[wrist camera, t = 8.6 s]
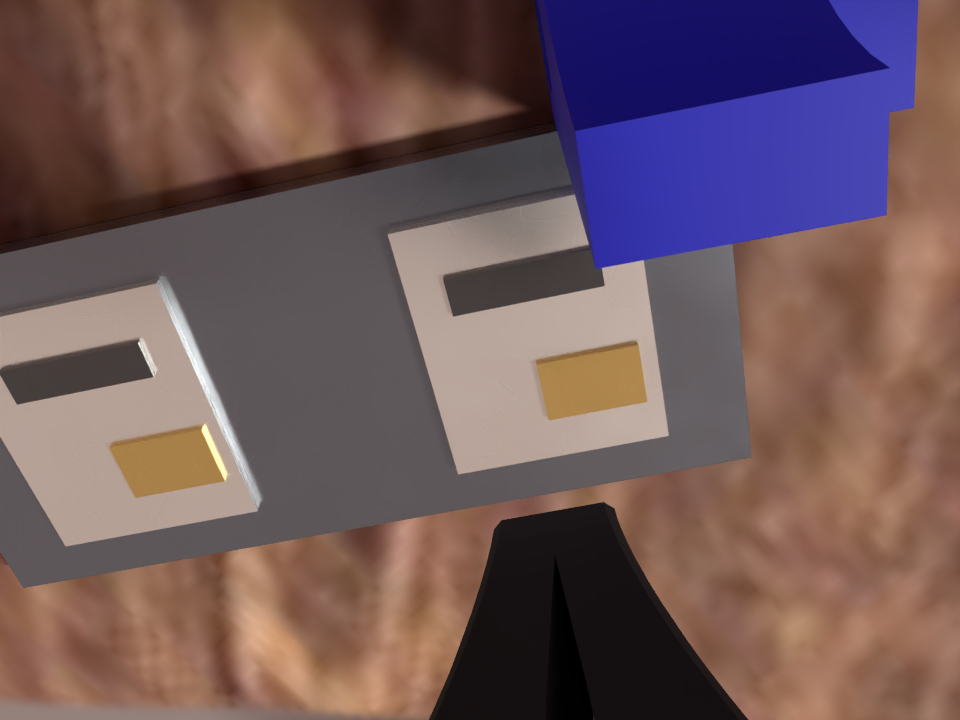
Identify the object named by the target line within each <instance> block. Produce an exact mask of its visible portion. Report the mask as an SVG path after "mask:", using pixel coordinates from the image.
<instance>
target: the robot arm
mask: <svg viewBox="0 0 960 720" xmlns="http://www.w3.org/2000/svg"><path fill="white" fill-rule="evenodd" d="M593 716H594V719H593ZM429 720H748V719H747V718H746V716H745V715H744V714H743V713H742V712H741V710H740V709H739V708H738V707H737V705H736V704H735V703H734V702H733V701H732V699H731V698H730V697H729V696H728V694H727V693H726V692H725V690H724V689H723V688H722V686H721V685H720V684H719V683H718V681H717V680H716V679H715V677H714V676H713V675H712V674H711V672H710V671H709V670H708V668H707V667H706V666H705V664H704V663H703V662H702V660H701V659H700V658H699V656H698V655H697V654H696V652H695V651H694V649H693V648H692V647H691V645H690V644H689V643H688V641H687V640H686V638H685V637H684V635H683V634H682V632H681V631H680V629H679V628H678V626H677V625H676V623H675V622H674V620H673V619H672V617H671V616H670V614H669V613H668V611H667V610H666V608H665V607H664V606H663V604H662V603H661V601H660V599H659V598H658V596H657V595H656V593H655V591H654V590H653V588H652V587H651V585H650V583H649V582H648V580H647V578H646V576H645V575H644V573H643V571H642V569H641V567H640V566H639V564H638V562H637V560H636V559H635V557H634V555H633V553H632V551H631V549H630V547H629V545H628V543H627V541H626V539H625V536H624V534H623V532H622V529H621V527H620V524H619V522H618V519H617V516H616V512H615V509H614V508H613V507H611V506H609V505H607V504H606V503H604V502H603V503H597V504H591V505H586V506H580V507H574V508H569V509H563V510H557V511H552V512H546V513H540V514H535V515H529V516H524V517H518V518H512V519H507V520H501V522H500V523H499V524H498V525H497V527H496V528H495V529H494V533H493V538H492V543H491V548H490V552H489V556H488V560H487V564H486V568H485V571H484V575H483V578H482V582H481V585H480V588H479V591H478V595H477V598H476V601H475V604H474V607H473V610H472V613H471V616H470V619H469V622H468V624H467V627H466V630H465V633H464V635H463V638H462V641H461V643H460V646H459V649H458V652H457V654H456V657H455V660H454V663H453V665H452V668H451V670H450V673H449V675H448V678H447V680H446V682H445V685H444V687H443V689H442V691H441V694H440V696H439V698H438V701H437V703H436V705H435V707H434V710H433V712H432V714H431V716H430V719H429Z"/></svg>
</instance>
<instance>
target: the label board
mask: <svg viewBox="0 0 960 720" xmlns="http://www.w3.org/2000/svg"><path fill="white" fill-rule="evenodd" d="M746 458H751V447H750V435H749V424H748V413H747V402H746V390H745V379H744V368H743V357H742V345H741V334H740V323H739V312H738V300H737V289H736V278H735V266H734V255H733V244H729V245H723V246H718V247H712V248H707V249H702V250H696V251H691V252H685V253H680V254H675V255H669V256H664V257H658V258H653V259H648V260H642V261H637V262H631V263H626V264H621V265H615V266H610V267H604V268H599V269H596V268H595V265H594V261H593V258H592V254H591V250H590V247H589V243H588V240H587V236H586V233H585V229H584V226H583V222H582V218H581V215H580V211H579V208H578V204H577V201H576V197H575V193H574V190H573V186H572V183H571V179H570V176H569V172H568V168H567V165H566V161H565V158H564V154H563V151H562V147H561V143H560V140H559V136H558V133H557V129H556V126H555V122H554V123H549V124H545V125H540V126H536V127H531V128H527V129H522V130H518V131H513V132H508V133H504V134H499V135H495V136H490V137H486V138H481V139H477V140H472V141H468V142H463V143H459V144H454V145H450V146H445V147H441V148H436V149H432V150H427V151H423V152H418V153H414V154H409V155H405V156H400V157H396V158H391V159H387V160H382V161H378V162H373V163H369V164H364V165H360V166H355V167H351V168H346V169H342V170H337V171H333V172H328V173H324V174H319V175H315V176H310V177H306V178H301V179H297V180H292V181H288V182H283V183H279V184H274V185H270V186H265V187H261V188H256V189H251V190H247V191H242V192H238V193H233V194H229V195H224V196H220V197H215V198H211V199H206V200H202V201H197V202H193V203H188V204H184V205H179V206H175V207H170V208H166V209H161V210H157V211H152V212H148V213H143V214H139V215H134V216H130V217H125V218H121V219H116V220H112V221H107V222H103V223H98V224H94V225H89V226H85V227H80V228H76V229H71V230H67V231H62V232H58V233H53V234H49V235H44V236H40V237H35V238H31V239H26V240H22V241H17V242H13V243H8V244H4V245H0V552H1V554H2V555H3V557H4V559H5V560H6V562H7V563H8V565H9V566H10V568H11V569H12V571H13V572H14V574H15V576H16V577H17V579H18V580H19V582H20V583H21V585H22V586H23V588H26V587H32V586H37V585H43V584H48V583H54V582H59V581H65V580H71V579H76V578H82V577H87V576H93V575H98V574H104V573H110V572H115V571H121V570H126V569H132V568H138V567H143V566H149V565H154V564H160V563H165V562H171V561H177V560H182V559H188V558H193V557H199V556H204V555H210V554H216V553H221V552H227V551H232V550H238V549H244V548H249V547H255V546H260V545H266V544H271V543H277V542H283V541H288V540H294V539H299V538H305V537H310V536H316V535H322V534H327V533H333V532H338V531H344V530H350V529H355V528H361V527H366V526H372V525H377V524H383V523H389V522H394V521H400V520H405V519H411V518H416V517H422V516H428V515H433V514H439V513H444V512H450V511H456V510H461V509H467V508H472V507H478V506H483V505H489V504H495V503H500V502H506V501H511V500H517V499H522V498H528V497H534V496H539V495H545V494H550V493H556V492H562V491H567V490H573V489H578V488H584V487H589V486H595V485H601V484H606V483H612V482H617V481H623V480H628V479H634V478H640V477H645V476H651V475H656V474H662V473H668V472H673V471H679V470H684V469H690V468H695V467H701V466H707V465H712V464H718V463H723V462H729V461H734V460H740V459H746Z"/></svg>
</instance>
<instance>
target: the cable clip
mask: <svg viewBox="0 0 960 720" xmlns="http://www.w3.org/2000/svg"><path fill="white" fill-rule="evenodd" d="M534 2H535V8H536V14H537V20H538V26H539V33H540V39H541V45H542V51H543V57H544V64H545V70H546V76H547V82H548V88H549V94H550V101H551V107H552V113H553V119H554V122H555V126H556V129H557V133H558V136H559V140H560V143H561V147H562V151H563V154H564V158H565V161H566V165H567V168H568V172H569V176H570V179H571V183H572V186H573V190H574V193H575V197H576V201H577V204H578V208H579V211H580V215H581V218H582V222H583V226H584V229H585V233H586V236H587V240H588V243H589V247H590V250H591V254H592V258H593V261H594V265H595V268H596V269H599V268H604V267H610V266H615V265H621V264H626V263H631V262H637V261H642V260H648V259H653V258H658V257H664V256H669V255H675V254H680V253H685V252H691V251H696V250H702V249H707V248H712V247H718V246H723V245H729V244H734V243H739V242H745V241H750V240H756V239H761V238H766V237H772V236H777V235H783V234H788V233H793V232H799V231H804V230H810V229H815V228H820V227H826V226H831V225H836V224H842V223H847V222H853V221H858V220H863V219H869V218H874V217H880V216H885V215H887V177H888V138H889V112H894V111H900V110H905V109H910V108H914V93H915V68H916V42H917V17H918V0H534Z"/></svg>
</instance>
